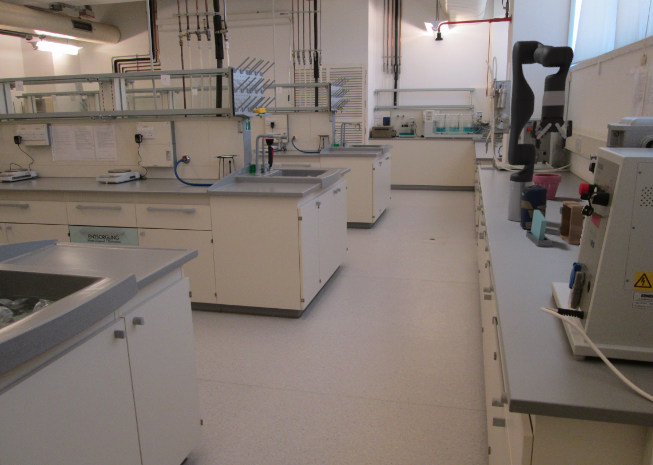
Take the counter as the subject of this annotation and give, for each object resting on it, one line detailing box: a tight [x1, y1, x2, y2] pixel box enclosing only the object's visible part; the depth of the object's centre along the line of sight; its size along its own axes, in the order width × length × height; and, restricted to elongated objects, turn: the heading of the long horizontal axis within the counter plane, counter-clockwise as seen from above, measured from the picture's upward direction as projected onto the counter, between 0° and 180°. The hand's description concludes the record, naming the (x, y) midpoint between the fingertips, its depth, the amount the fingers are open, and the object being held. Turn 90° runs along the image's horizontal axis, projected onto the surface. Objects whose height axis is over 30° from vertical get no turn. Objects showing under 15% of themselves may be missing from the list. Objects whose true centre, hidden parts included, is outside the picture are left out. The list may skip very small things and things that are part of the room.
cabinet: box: [557, 200, 585, 245], centre depth 181 cm, size 10×5×14 cm, turn 173°
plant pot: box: [532, 172, 562, 200], centre depth 267 cm, size 14×14×13 cm
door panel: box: [530, 210, 548, 240], centre depth 182 cm, size 10×2×9 cm, turn 174°
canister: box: [519, 184, 548, 230], centre depth 200 cm, size 10×10×18 cm
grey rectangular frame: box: [525, 230, 553, 247], centre depth 182 cm, size 15×5×2 cm, turn 173°
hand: (549, 149), depth 184 cm, fingers open, 8 cm apart
